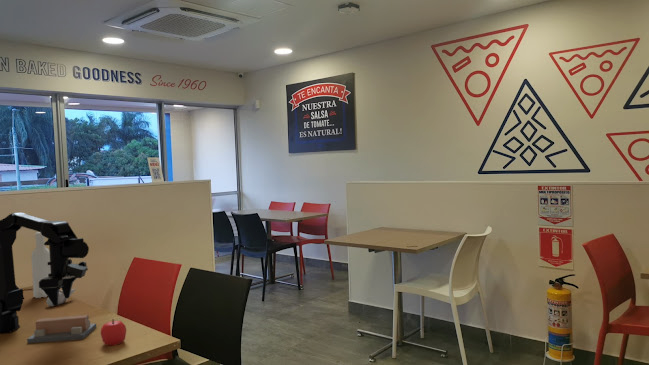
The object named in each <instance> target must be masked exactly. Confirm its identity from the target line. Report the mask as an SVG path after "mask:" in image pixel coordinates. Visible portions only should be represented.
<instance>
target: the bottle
mask: <svg viewBox="0 0 649 365" xmlns="http://www.w3.org/2000/svg"><path fill="white" fill-rule="evenodd" d="M34 238H35V248H34V250H32V251H31V252H32V253H31V271H32V272H31V275H32V294H33V298H34V297H35V298H34V299H42V298H41V297H44V298H48V297H47V295H46V293H45V292H44V291H43V290H42V289H41V288H39V281H40V280H41V279H43V278H46V277H48V274H50V273H51V270H50V265H48V262H50V252H49V248H47V247H46V245H44V243H45V242H46V240H45V238H46V237H44V236H42V234H41V233H40V232H38V231H37V232H35V235H34Z"/></svg>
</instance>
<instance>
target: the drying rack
mask: <svg viewBox="0 0 649 365" xmlns="http://www.w3.org/2000/svg"><path fill="white" fill-rule="evenodd" d="M96 328H97V323H91V320H90V319H89V328H88V329H87V330H83V331H82V326H79V327H72V328H71V332H61V333H50V334H46V329H36V328H35V330H34V331H33V334H32V335H31V336H29V337H27V339H26V341H27V342H26V343H27V344H35V343H48V342H49V343H50V342H62V341H66V342H67V341H77V340H84V339H85V338H87V337H88V336H89V335H90V334H91V333H92V332H93V331H94V330H95V329H96Z"/></svg>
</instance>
